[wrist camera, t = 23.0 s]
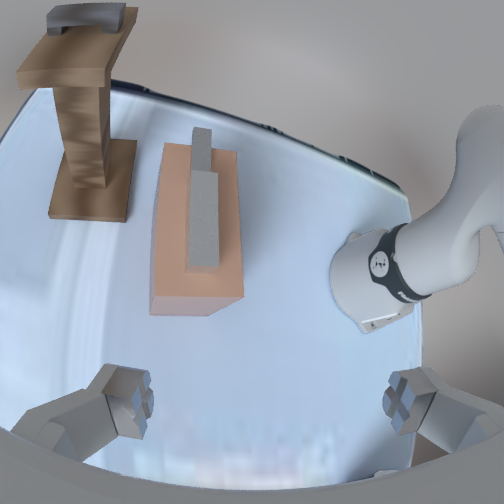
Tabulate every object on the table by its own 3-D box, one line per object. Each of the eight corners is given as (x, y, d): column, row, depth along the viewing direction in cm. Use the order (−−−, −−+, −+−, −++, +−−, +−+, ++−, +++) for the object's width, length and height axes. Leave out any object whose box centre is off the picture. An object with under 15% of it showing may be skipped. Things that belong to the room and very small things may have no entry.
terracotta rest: (205, 210, 45) (236, 152, 32) (207, 316, 40) (244, 297, 27) (153, 206, 42) (164, 142, 29) (149, 315, 37) (154, 295, 24)
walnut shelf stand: (136, 146, 44) (163, -14, 19) (125, 222, 40) (130, 49, 14) (70, 142, 40) (57, -12, 14) (50, 218, 35) (-14, 60, 10)
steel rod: (211, 134, 31) (218, 119, 29) (212, 274, 26) (219, 266, 24) (190, 131, 30) (195, 116, 28) (184, 272, 25) (189, 265, 23)
